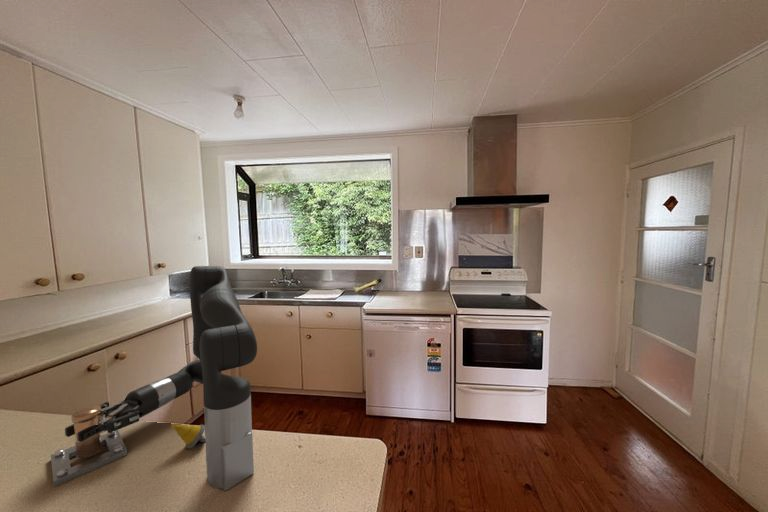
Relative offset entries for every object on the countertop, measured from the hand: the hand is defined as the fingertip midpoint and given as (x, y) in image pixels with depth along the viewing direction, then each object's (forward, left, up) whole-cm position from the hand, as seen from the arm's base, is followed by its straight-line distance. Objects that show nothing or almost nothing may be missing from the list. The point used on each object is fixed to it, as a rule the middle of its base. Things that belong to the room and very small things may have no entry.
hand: (72, 435), depth 68 cm
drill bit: (-14, -20, -8) cm, 25 cm away
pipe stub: (+1, -3, -6) cm, 7 cm away
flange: (+1, -3, -7) cm, 8 cm away
